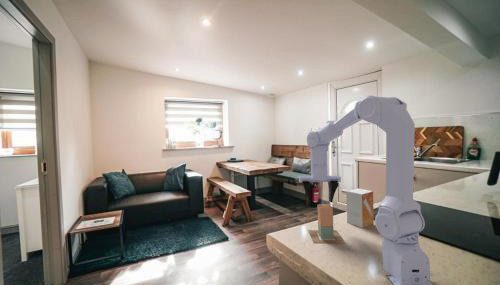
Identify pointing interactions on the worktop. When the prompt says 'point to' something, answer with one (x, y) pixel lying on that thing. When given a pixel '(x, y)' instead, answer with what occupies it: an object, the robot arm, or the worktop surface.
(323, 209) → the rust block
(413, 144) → the robot arm
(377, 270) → the worktop surface
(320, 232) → the green block
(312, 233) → the build board
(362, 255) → the worktop surface
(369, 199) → the small box
